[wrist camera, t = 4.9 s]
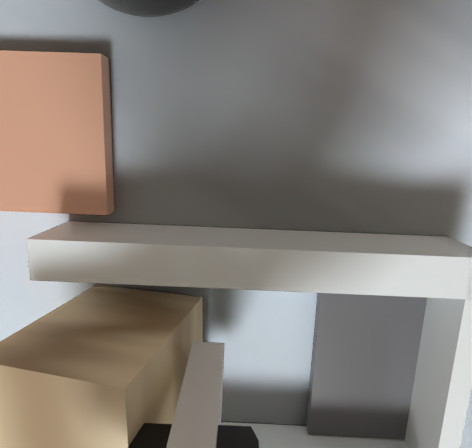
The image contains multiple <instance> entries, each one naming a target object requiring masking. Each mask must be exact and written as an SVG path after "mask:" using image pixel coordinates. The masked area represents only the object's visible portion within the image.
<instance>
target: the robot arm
mask: <svg viewBox="0 0 472 448" xmlns="http://www.w3.org/2000/svg"><path fill="white" fill-rule="evenodd" d="M223 369H224V343H216V342H193V343H192V347H191V351H190V355H189V359H188V363H187V367H186V371H185V375H184V379H183V383H182V387H181V391H180V395H179V399H178V403H177V407H176V411H175V415H174V419H173V423H172V424H157V423H144V424H143V425H142V427H141V428H140V430H139V431H138V433H137V434H136V436H135V437H134V439H133V440H132V442H131V443H130V445H129V446H128V448H259V440H258V438H257V436H256V435H255V433H254V431H253V429H252V427H251V426H232V425H221V416H222V399H223Z"/></svg>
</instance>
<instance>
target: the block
mask: <svg viewBox="0 0 472 448" xmlns="http://www.w3.org/2000/svg"><path fill="white" fill-rule="evenodd" d="M193 342H203V306H202V297H198V296H190V295H181V294H172V293H164V292H155V291H147V290H138V289H129V288H121V287H112V286H94V287H92V288H90V289H88V290H87V291H85V292H83V293H82V294H80V295H78V296H77V297H75V298H73V299H72V300H70V301H68V302H67V303H65V304H63V305H61V306H60V307H58V308H56V309H55V310H53V311H51V312H50V313H48V314H46V315H45V316H43V317H41V318H40V319H38V320H36V321H34V322H33V323H31V324H29V325H28V326H26V327H24V328H23V329H21V330H19V331H18V332H16V333H14V334H13V335H11V336H9V337H7V338H6V339H4V340H2V341H1V342H0V448H128V446H129V445H130V443H131V442H132V440H133V439H134V437H135V436H136V434H137V433H138V431H139V430H140V428H141V427H142V425H143V424H144V423H157V424H172V423H173V419H174V415H175V411H176V407H177V403H178V399H179V395H180V391H181V387H182V383H183V379H184V375H185V371H186V367H187V363H188V359H189V355H190V351H191V347H192V343H193Z"/></svg>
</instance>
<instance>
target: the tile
mask: <svg viewBox="0 0 472 448" xmlns="http://www.w3.org/2000/svg"><path fill="white" fill-rule="evenodd" d="M0 211H17V212H41V213H66V214H91V215H109V214H111V213H113V212H114V186H113V158H112V130H111V103H110V75H109V58H107V57H106V56H104V55H102V54H101V53H70V52H38V51H7V50H0Z"/></svg>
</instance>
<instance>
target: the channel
mask: <svg viewBox="0 0 472 448" xmlns="http://www.w3.org/2000/svg"><path fill="white" fill-rule="evenodd" d="M26 240H27V251H28V262H29V273H30V280H37V281H60V282H83V283H106V284H128V285H151V286H174V287H197V288H220V289H243V290H266V291H289V292H312V293H318V296H317V307H316V318H315V329H314V341H313V352H312V363H311V374H310V386H309V397H308V408H307V419H306V426H294V425H274V424H254V423H235V422H221V425H232V426H251V427H252V429H253V431H254V433H255V435H256V436H257V438H258V440H259V448H460V444H461V439H462V434H463V429H464V424H465V419H466V414H467V409H468V404H469V399H470V394H471V388H472V247H470V246H468V245H466V244H463V243H461V242H459V241H457V240H455V239H452V238H450V237H443V236H418V235H394V234H369V233H344V232H320V231H295V230H270V229H246V228H221V227H196V226H172V225H147V224H123V223H98V222H73V221H68V222H65V223H63V224H61V225H58V226H56V227H54V228H51V229H49V230H47V231H44V232H42V233H40V234H37V235H35V236H32V237H30V238H28V239H26Z"/></svg>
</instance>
